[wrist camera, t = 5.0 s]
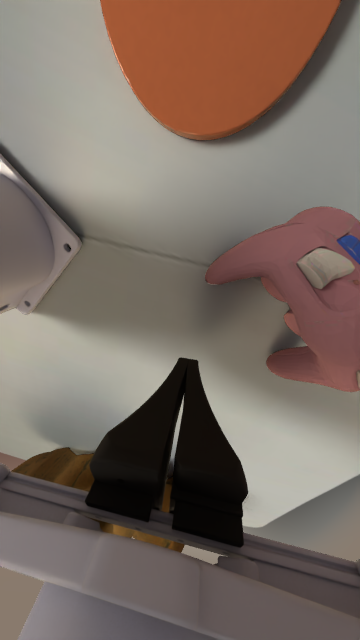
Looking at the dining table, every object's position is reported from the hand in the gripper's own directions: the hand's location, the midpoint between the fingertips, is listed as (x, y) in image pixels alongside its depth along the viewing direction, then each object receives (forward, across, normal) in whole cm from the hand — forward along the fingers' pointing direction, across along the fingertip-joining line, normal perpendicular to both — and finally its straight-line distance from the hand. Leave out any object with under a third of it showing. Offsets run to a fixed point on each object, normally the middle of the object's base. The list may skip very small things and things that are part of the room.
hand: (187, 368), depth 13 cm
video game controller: (+3, -5, -5) cm, 8 cm away
